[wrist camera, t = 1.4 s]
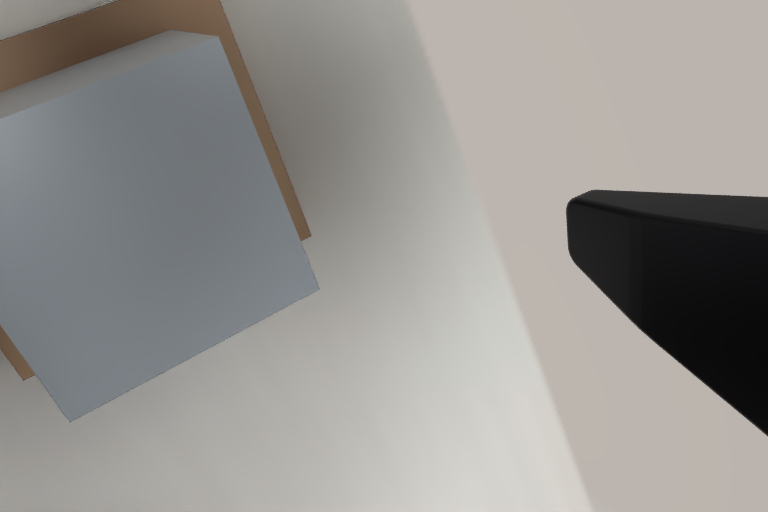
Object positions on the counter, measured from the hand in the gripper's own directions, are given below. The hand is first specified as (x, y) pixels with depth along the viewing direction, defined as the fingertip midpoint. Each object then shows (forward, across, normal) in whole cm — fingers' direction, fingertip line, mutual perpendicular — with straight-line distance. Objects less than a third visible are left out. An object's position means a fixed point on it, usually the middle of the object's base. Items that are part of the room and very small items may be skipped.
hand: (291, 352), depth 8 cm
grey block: (+11, +2, +1) cm, 11 cm away
